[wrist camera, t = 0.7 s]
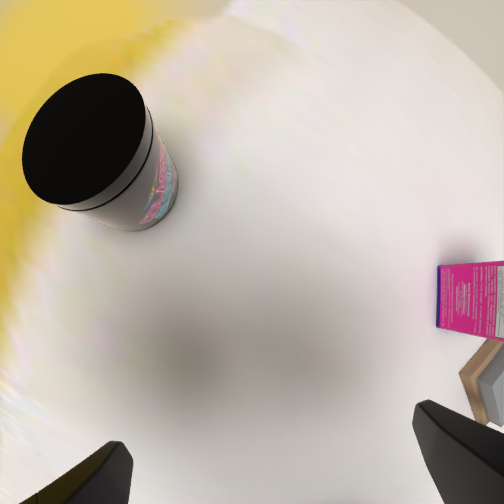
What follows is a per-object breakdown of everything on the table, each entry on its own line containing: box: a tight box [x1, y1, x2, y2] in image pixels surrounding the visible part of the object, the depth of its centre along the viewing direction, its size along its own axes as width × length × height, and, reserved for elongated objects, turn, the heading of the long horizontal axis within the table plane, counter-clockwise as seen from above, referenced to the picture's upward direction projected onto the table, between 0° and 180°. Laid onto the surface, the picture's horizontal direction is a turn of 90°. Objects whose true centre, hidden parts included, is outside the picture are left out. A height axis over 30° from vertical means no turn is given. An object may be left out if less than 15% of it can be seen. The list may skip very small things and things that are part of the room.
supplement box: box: [436, 261, 504, 342], centre depth 18 cm, size 6×6×12 cm
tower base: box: [459, 338, 504, 426], centre depth 23 cm, size 9×9×2 cm
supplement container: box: [22, 73, 178, 231], centre depth 16 cm, size 7×7×10 cm
